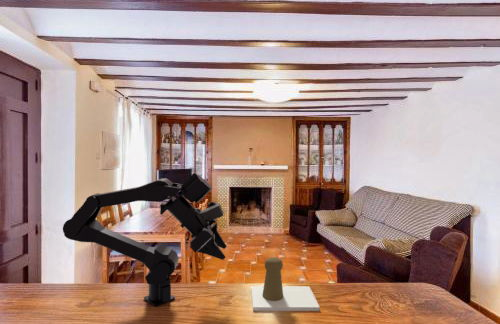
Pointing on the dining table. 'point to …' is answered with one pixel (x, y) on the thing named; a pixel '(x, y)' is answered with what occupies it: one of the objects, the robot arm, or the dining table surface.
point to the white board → (285, 300)
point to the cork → (273, 279)
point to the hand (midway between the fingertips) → (225, 252)
